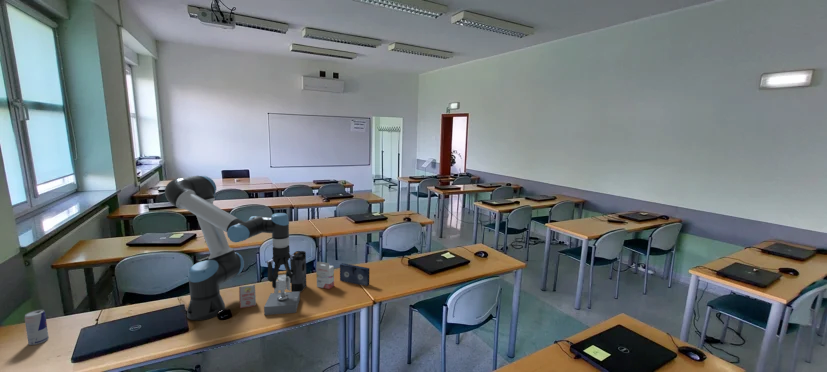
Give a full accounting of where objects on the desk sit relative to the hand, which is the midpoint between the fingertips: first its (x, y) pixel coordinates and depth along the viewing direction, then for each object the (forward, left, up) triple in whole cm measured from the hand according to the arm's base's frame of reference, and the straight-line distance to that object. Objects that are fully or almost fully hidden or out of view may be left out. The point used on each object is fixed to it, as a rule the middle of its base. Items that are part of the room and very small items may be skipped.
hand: (282, 291), depth 161 cm
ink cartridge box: (+19, +20, -8) cm, 29 cm away
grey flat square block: (0, 0, -8) cm, 8 cm away
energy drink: (-89, -14, -8) cm, 90 cm away
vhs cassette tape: (+35, +22, -8) cm, 42 cm away
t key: (0, 0, -4) cm, 4 cm away
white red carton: (-17, +4, -8) cm, 19 cm away
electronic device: (+5, +19, -8) cm, 21 cm away
